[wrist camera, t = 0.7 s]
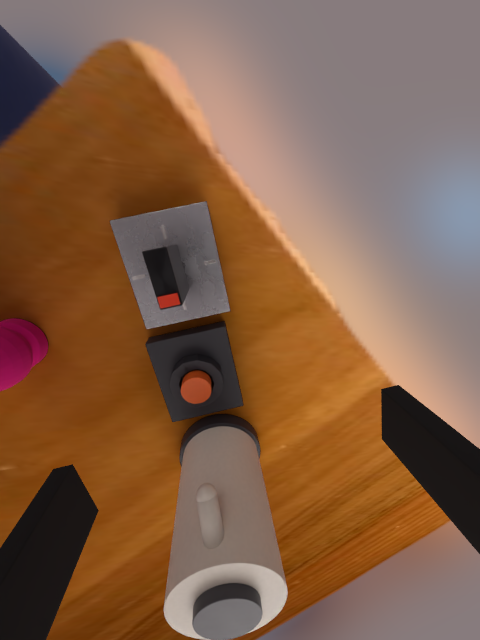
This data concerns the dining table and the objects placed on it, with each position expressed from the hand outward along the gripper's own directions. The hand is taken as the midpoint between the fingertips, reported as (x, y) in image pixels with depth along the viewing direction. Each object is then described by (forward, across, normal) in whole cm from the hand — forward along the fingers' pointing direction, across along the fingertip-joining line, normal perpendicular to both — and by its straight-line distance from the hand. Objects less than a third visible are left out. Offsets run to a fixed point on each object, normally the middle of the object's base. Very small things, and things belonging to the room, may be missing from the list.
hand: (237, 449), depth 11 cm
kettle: (+23, -5, -22) cm, 32 cm away
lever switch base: (+23, -4, +6) cm, 24 cm away
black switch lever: (+20, -4, +6) cm, 21 cm away
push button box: (+23, -5, -8) cm, 25 cm away
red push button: (+19, -5, -8) cm, 21 cm away
